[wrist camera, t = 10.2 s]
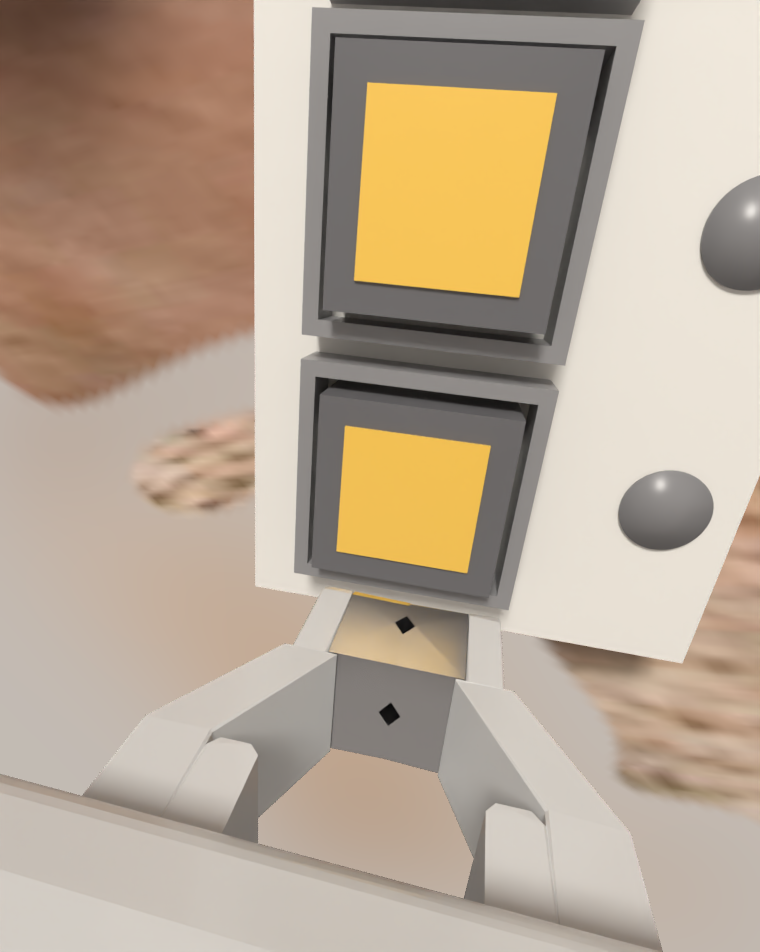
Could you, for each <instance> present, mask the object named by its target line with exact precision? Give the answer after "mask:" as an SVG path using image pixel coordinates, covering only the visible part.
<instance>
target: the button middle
mask: <svg viewBox="0 0 760 952" xmlns="http://www.w3.org/2000/svg"><path fill="white" fill-rule="evenodd" d="M604 53H605V50H602V49H581V48H559V47H537V46H516V45H494V44H472V43H451V42H429V41H407V40H386V39H364V38H342V37H335V55H334V77H333V98H332V120H331V141H330V162H329V184H328V205H327V227H326V248H325V270H324V291H323V310H328V311H337V312H346V313H355V314H364V315H373V316H382V317H391V318H399V319H408V320H417V321H426V322H435V323H444V324H453V325H462V326H471V327H480V328H489V329H498V330H507V331H516V332H525V333H534V334H543V335H545V333H546V328H547V323H548V318H549V314H550V309H551V304H552V300H553V295H554V290H555V285H556V281H557V276H558V271H559V266H560V262H561V257H562V252H563V247H564V243H565V238H566V233H567V228H568V224H569V219H570V214H571V209H572V205H573V200H574V195H575V191H576V186H577V181H578V176H579V172H580V167H581V162H582V157H583V153H584V148H585V143H586V138H587V134H588V129H589V124H590V119H591V115H592V110H593V105H594V100H595V96H596V91H597V86H598V82H599V77H600V72H601V67H602V63H603V58H604Z"/></svg>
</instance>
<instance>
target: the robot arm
mask: <svg viewBox="0 0 760 952" xmlns="http://www.w3.org/2000/svg"><path fill="white" fill-rule="evenodd" d="M330 748H334V749H339V750H344V751H349V752H354V753H359V754H363V755H368V756H374V757H378V758H383V759H387V760H391V761H395V762H398V763H402V764H406V765H409V766H413V767H417V768H421V769H425V770H428V771H432V772H436V773H438V778H439V780H440V782H441V785H442V787H443V789H444V791H445V794H446V796H447V798H448V801H449V803H450V805H451V808H452V810H453V812H454V814H455V816H456V819H457V821H458V824H459V826H460V828H461V830H462V833H463V835H464V837H465V840H466V842H467V844H468V846H469V849H470V851H471V853H472V856H473V858H474V860H473V864H472V868H471V872H470V876H469V880H468V884H467V888H466V892H465V896H464V899H463V898H459V897H455V896H452V895H448V894H444V893H440V892H437V891H433V890H429V889H425V888H422V887H418V886H414V885H410V884H407V883H403V882H399V881H396V880H392V879H388V878H385V877H380V876H377V875H373V874H370V873H366V872H362V871H359V870H355V869H351V868H347V867H344V866H340V865H336V864H332V863H329V862H325V861H321V860H318V859H314V858H310V857H306V856H302V855H299V854H295V853H291V852H288V851H284V850H280V849H277V848H273V847H269V846H265V845H262V844H258V817H260V815H262V814H263V813H264V812H265V811H266V810H267V809H268V808H269V807H270V806H271V805H272V804H274V802H276V800H278V799H279V798H280V797H281V796H282V795H283V794H284V793H285V792H286V791H288V790H289V789H290V788H291V787H292V786H293V785H294V784H295V783H296V782H297V781H298V780H299V779H300V778H302V777H303V776H304V775H305V774H306V773H307V772H308V771H309V770H310V769H311V768H312V767H313V766H315V765H316V764H317V763H318V762H319V761H320V760H321V759H322V758H323V757H324V756H325V755H326V754H327V753H328V752H330ZM0 952H663V951H662V947H661V943H660V940H659V936H658V932H657V928H656V925H655V921H654V917H653V914H652V910H651V906H650V902H649V899H648V895H647V891H646V887H645V884H644V880H643V877H642V873H641V869H640V865H639V861H638V858H637V854H636V850H635V847H634V843H633V839H632V835H631V833H630V831H629V830H628V829H627V828H626V827H625V825H624V824H623V823H622V822H621V820H620V819H619V818H618V817H617V816H616V814H615V813H614V812H613V811H612V810H611V808H610V807H609V806H608V805H607V803H606V802H605V801H604V800H603V799H602V797H601V796H600V795H599V794H598V792H597V791H596V790H595V789H594V788H593V786H591V784H590V783H589V782H588V780H587V779H586V778H585V777H584V776H583V774H582V773H581V772H580V771H579V769H578V768H577V767H576V766H575V765H574V763H573V762H572V761H571V760H570V758H569V757H568V756H567V755H566V754H565V752H564V751H563V750H562V749H561V748H560V747H559V745H558V744H557V743H556V741H555V740H554V739H553V738H552V737H551V736H550V734H549V733H548V732H547V731H546V729H545V728H544V727H543V726H542V725H541V723H540V722H539V721H538V720H537V718H536V717H535V716H534V715H533V714H532V712H531V711H530V710H529V709H528V707H527V706H526V705H525V704H524V703H523V701H522V700H521V699H520V698H519V697H518V695H517V694H516V693H515V692H514V691H510V690H506V689H505V688H504V670H503V653H502V636H501V621H500V620H499V618H495V617H489V616H482V615H476V614H465V613H459V612H454V611H448V610H442V609H437V608H431V607H425V606H420V605H414V604H411V603H407V602H402V601H398V600H393V599H388V598H383V597H379V596H374V595H369V594H365V593H360V592H353V591H350V590H345V589H339V588H334V587H329V586H327V587H325V588H324V589H323V590H322V591H321V593H320V595H319V597H318V599H317V600H316V602H315V604H314V606H313V608H312V610H311V612H310V614H309V615H308V617H307V620H306V621H305V623H304V625H303V627H302V629H301V631H300V633H299V634H298V636H297V638H296V640H295V642H294V644H293V645H290V644H283V645H280V646H279V647H277V648H275V649H273V650H271V651H269V652H267V653H265V654H263V655H261V656H259V657H257V658H255V659H253V660H251V661H250V662H248V663H246V664H244V665H242V666H240V667H238V668H236V669H234V670H232V671H230V672H228V673H226V674H224V675H223V676H221V677H219V678H217V679H215V680H213V681H211V682H209V683H207V684H205V685H203V686H201V687H199V688H198V689H196V690H193V691H192V692H190V693H188V694H186V695H184V696H182V697H180V698H178V699H176V700H174V701H173V702H171V703H168V704H166V705H165V706H163V707H161V708H159V709H157V710H155V711H153V712H151V713H149V714H147V715H145V716H144V718H143V719H142V720H141V722H140V723H139V724H138V725H137V727H136V728H135V729H134V730H133V732H132V733H131V734H130V736H129V737H128V738H127V739H126V741H125V742H124V743H123V744H122V746H121V747H120V748H119V750H118V751H117V752H116V753H115V755H114V756H113V757H112V759H111V760H110V761H109V762H108V763H107V765H106V766H105V768H104V769H103V770H102V771H101V772H100V774H99V775H98V776H97V777H96V779H95V780H94V781H93V783H92V784H91V785H90V786H89V788H88V789H87V790H86V792H85V793H84V794H83V795H82V796H80V795H77V794H73V793H69V792H65V791H62V790H58V789H54V788H50V787H47V786H43V785H39V784H36V783H32V782H28V781H25V780H21V779H17V778H13V777H10V776H6V775H2V774H0Z"/></svg>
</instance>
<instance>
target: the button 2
mask: <svg viewBox="0 0 760 952" xmlns="http://www.w3.org/2000/svg"><path fill="white" fill-rule="evenodd" d="M525 424H526V420H525V418H524V415H523V413H522V410H521V407H520V405H519V402H511V401H503V400H495V399H488V398H480V397H472V396H464V395H456V394H448V393H441V392H433V391H425V390H417V389H409V388H401V387H394V386H386V385H378V384H370V383H362V382H355V381H347V380H338V381H336V382H335V383H334V384H333V385H331V386H330V387H329V388H327V389H326V390H325V391H324V392H322V393H321V394H320V401H319V422H318V443H317V464H316V485H315V506H314V527H313V548H312V567H313V568H319V569H324V570H330V571H336V572H342V573H347V574H353V575H359V576H365V577H370V578H376V579H382V580H388V581H393V582H399V583H405V584H411V585H416V586H422V587H428V588H434V589H439V590H445V591H451V592H457V593H462V594H468V595H474V596H480V597H485V598H489V595H490V591H491V586H492V581H493V576H494V572H495V567H496V562H497V557H498V553H499V548H500V543H501V538H502V533H503V529H504V524H505V519H506V514H507V510H508V505H509V500H510V495H511V491H512V486H513V481H514V476H515V472H516V467H517V462H518V457H519V453H520V448H521V443H522V438H523V434H524V429H525Z"/></svg>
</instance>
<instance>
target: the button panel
mask: <svg viewBox="0 0 760 952" xmlns="http://www.w3.org/2000/svg"><path fill="white" fill-rule="evenodd" d="M335 37H342V38H364V39H386V40H407V41H429V42H451V43H472V44H494V45H516V46H537V47H559V48H581V49H602V50H605V53H604V58H603V63H602V67H601V72H600V77H599V82H598V86H597V91H596V96H595V100H594V105H593V110H592V115H591V119H590V124H589V129H588V134H587V138H586V143H585V148H584V153H583V157H582V162H581V167H580V172H579V176H578V181H577V186H576V191H575V195H574V200H573V205H572V209H571V214H570V219H569V224H568V228H567V233H566V238H565V243H564V247H563V252H562V257H561V262H560V266H559V271H558V276H557V281H556V285H555V290H554V295H553V300H552V304H551V309H550V314H549V318H548V323H547V328H546V333H545V335H543V334H534V333H525V332H516V331H507V330H498V329H489V328H480V327H471V326H462V325H453V324H444V323H435V322H426V321H417V320H408V319H399V318H391V317H382V316H373V315H364V314H355V313H346V312H337V311H328V310H323V291H324V270H325V248H326V227H327V205H328V184H329V162H330V141H331V120H332V98H333V77H334V55H335ZM254 252H255V586H257V587H263V588H268V589H274V590H279V591H285V592H290V593H296V594H302V595H307V596H312V597H319V595H320V593H321V591H322V590H323V589H324V588H325V587H327V586H329V587H334V588H339V589H345V590H350V591H353V592H360V593H365V594H369V595H374V596H379V597H383V598H388V599H393V600H398V601H402V602H407V603H411V604H414V605H420V606H425V607H431V608H437V609H442V610H448V611H454V612H459V613H465V614H476V615H482V616H489V617H495V618H499V620H500V621H501V631H506V632H512V633H517V634H523V635H528V636H534V637H539V638H545V639H550V640H556V641H561V642H567V643H572V644H578V645H583V646H589V647H594V648H600V649H606V650H611V651H617V652H622V653H628V654H633V655H639V656H644V657H650V658H655V659H661V660H666V661H672V662H677V663H683V660H684V658H685V656H686V653H687V651H688V648H689V646H690V643H691V641H692V639H693V636H694V634H695V631H696V629H697V626H698V624H699V622H700V619H701V617H702V614H703V612H704V609H705V607H706V605H707V602H708V600H709V597H710V595H711V592H712V590H713V588H714V585H715V583H716V580H717V578H718V575H719V573H720V570H721V568H722V566H723V563H724V561H725V558H726V556H727V553H728V551H729V549H730V546H731V544H732V541H733V539H734V536H735V534H736V532H737V529H738V527H739V524H740V522H741V519H742V517H743V515H744V512H745V510H746V507H747V505H748V502H749V500H750V498H751V495H752V493H753V490H754V488H755V485H756V483H757V481H758V478H759V476H760V0H254ZM338 380H347V381H355V382H362V383H370V384H378V385H386V386H394V387H401V388H409V389H417V390H425V391H433V392H441V393H448V394H456V395H464V396H472V397H480V398H488V399H495V400H503V401H511V402H519V405H520V407H521V410H522V413H523V415H524V418H525V420H526V424H525V429H524V434H523V438H522V443H521V448H520V453H519V457H518V462H517V467H516V472H515V476H514V481H513V486H512V491H511V495H510V500H509V505H508V510H507V514H506V519H505V524H504V529H503V533H502V538H501V543H500V548H499V553H498V557H497V562H496V567H495V572H494V576H493V581H492V586H491V591H490V595H489V598H485V597H480V596H474V595H468V594H462V593H457V592H451V591H445V590H439V589H434V588H428V587H422V586H416V585H411V584H405V583H399V582H393V581H388V580H382V579H376V578H370V577H365V576H359V575H353V574H347V573H342V572H336V571H330V570H324V569H319V568H313V567H312V548H313V527H314V506H315V485H316V464H317V443H318V422H319V401H320V394H321V393H322V392H324V391H325V390H326V389H327V388H329V387H330V386H331V385H333V384H334V383H335V382H336V381H338Z"/></svg>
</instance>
